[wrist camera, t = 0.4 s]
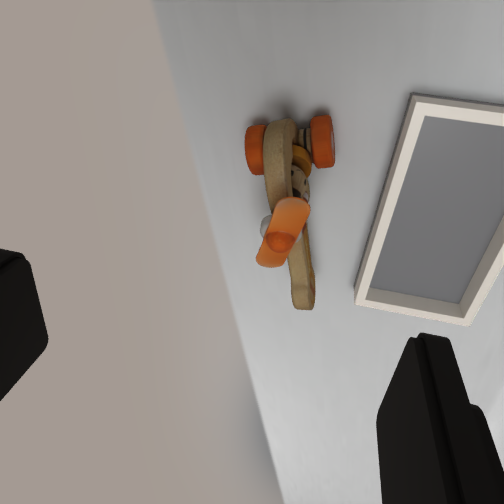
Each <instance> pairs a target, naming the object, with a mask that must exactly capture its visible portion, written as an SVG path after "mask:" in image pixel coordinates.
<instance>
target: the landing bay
mask: <svg viewBox="0 0 504 504" xmlns="http://www.w3.org/2000/svg"><path fill="white" fill-rule="evenodd" d="M503 265H504V105H501V104H494V103H486V102H478V101H471V100H463V99H456V98H448V97H440V96H433V95H425V94H418V93H411V95H410V99H409V102H408V105H407V109H406V112H405V115H404V119H403V122H402V126H401V129H400V132H399V136H398V139H397V142H396V146H395V149H394V153H393V156H392V159H391V163H390V166H389V169H388V173H387V176H386V179H385V183H384V186H383V190H382V193H381V196H380V200H379V203H378V206H377V210H376V213H375V217H374V220H373V223H372V227H371V230H370V233H369V237H368V240H367V243H366V247H365V250H364V254H363V257H362V260H361V264H360V267H359V270H358V274H357V277H356V281H355V284H354V305H359V306H365V307H370V308H375V309H380V310H385V311H391V312H396V313H401V314H406V315H411V316H416V317H422V318H427V319H432V320H437V321H442V322H448V323H453V324H458V325H463V326H468V327H470V325H471V323H472V321H473V320H474V318H475V316H476V314H477V312H478V311H479V309H480V307H481V305H482V303H483V301H484V300H485V298H486V296H487V294H488V292H489V291H490V289H491V287H492V285H493V283H494V281H495V280H496V278H497V276H498V274H499V272H500V271H501V269H502V267H503Z"/></svg>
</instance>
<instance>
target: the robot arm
mask: <svg viewBox="0 0 504 504" xmlns="http://www.w3.org/2000/svg"><path fill="white" fill-rule="evenodd" d="M47 343H48V334H47V330H46V326H45V322H44V318H43V314H42V309H41V305H40V302H39V297H38V293H37V290H36V285H35V281H34V278H33V273H32V269H31V265H30V263H29V262H28V261H27V260H26V259H25V256H24V255H23V254H22V253H19V252H14V251H9V250H4V249H0V401H1V400H2V399H3V398H4V396H5V395H6V394H7V393H8V392H9V391H10V389H11V388H12V387H13V386H14V385H15V384H16V383H17V381H18V380H19V379H20V378H21V376H23V374H24V373H25V372H26V371H27V370H28V369H29V367H30V366H31V365H32V364H33V363H34V362H35V361H36V359H37V358H38V357H39V356H40V355H41V354H42V352H43V351H44V350H45V348H46V346H47ZM376 428H377V441H378V454H379V467H380V480H381V493H382V504H504V471H503V468H502V465H501V462H500V459H499V456H498V453H497V450H496V447H495V444H494V441H493V438H492V435H491V433H490V430H489V427H488V424H487V421H486V418H485V416H484V414H483V411H482V410H481V409H480V408H479V407H478V406H477V405H473V404H470V402H469V399H468V396H467V392H466V389H465V386H464V383H463V380H462V377H461V373H460V370H459V367H458V364H457V361H456V358H455V354H454V351H453V348H452V345H451V342H450V340H449V339H448V338H447V337H442V336H437V335H432V334H426V333H420V334H419V335H418V336H417V338H413V337H410V338H409V339H408V341H407V344H406V346H405V348H404V351H403V353H402V356H401V358H400V360H399V363H398V365H397V367H396V370H395V372H394V375H393V377H392V379H391V382H390V384H389V386H388V389H387V391H386V394H385V396H384V398H383V401H382V403H381V406H380V408H379V410H378V414H377V421H376Z"/></svg>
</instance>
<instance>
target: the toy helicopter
mask: <svg viewBox="0 0 504 504" xmlns="http://www.w3.org/2000/svg"><path fill="white" fill-rule="evenodd" d="M245 155H246V160H247V164H248V167H249V169H250V171H251V173H252V174H254V175H264V177H265V185H266V191H267V197H268V201H269V206H270V210H271V213H272V215H269V216H267V217H265V218H264V219H263V220H262V222H261V228H260V233H261V235H262V237H263V242H262V245H261V247H260V249H259V252H258V254H257V256H256V261H257V263H258V264H259V265H261V266H264V267H269V268H272V267H279V266H282V265H283V264H284V262H285V260H286V258H287V259H288V265H289V270H290V276H291V295H292V302H293V305H294V307H295V308H296V309H300V310H312V309H313V307H314V303H315V275H314V270H313V268H312V264H311V255H310V247H309V239H308V230H307V218H308V216H309V214H310V205H309V204H308V202H309V197H310V191H309V184H308V181H307V177H308V176H309V175H310V173H311V167H312V163H314V164H315V166H316V168H318V169H320V168H328V167H332V166H334V163H335V146H334V134H333V125H332V120H331V117H330V116H329V115H322V116H315V117H313V118H312V119H311V123H310V128H305V129H300V130H298V128H297V125H296V124H295V122H294V121H293V120H292V119H290V118H288V119H282V120H277V121H273V122H271V123H270V124H269V125H268V127H267V126H265V125H255V126H250V127H249V128H247V130H246V134H245Z"/></svg>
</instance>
